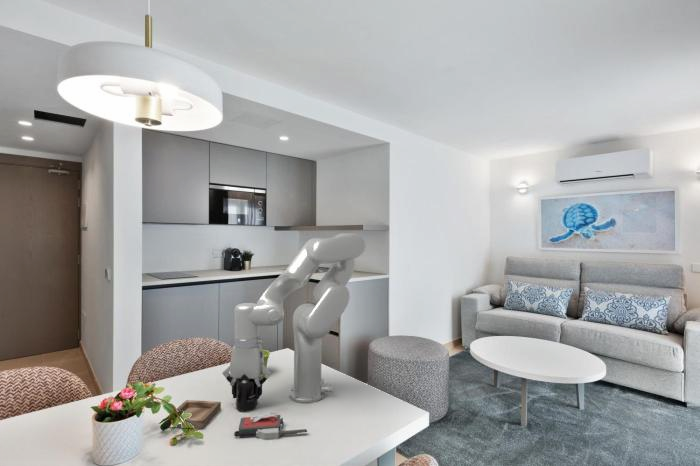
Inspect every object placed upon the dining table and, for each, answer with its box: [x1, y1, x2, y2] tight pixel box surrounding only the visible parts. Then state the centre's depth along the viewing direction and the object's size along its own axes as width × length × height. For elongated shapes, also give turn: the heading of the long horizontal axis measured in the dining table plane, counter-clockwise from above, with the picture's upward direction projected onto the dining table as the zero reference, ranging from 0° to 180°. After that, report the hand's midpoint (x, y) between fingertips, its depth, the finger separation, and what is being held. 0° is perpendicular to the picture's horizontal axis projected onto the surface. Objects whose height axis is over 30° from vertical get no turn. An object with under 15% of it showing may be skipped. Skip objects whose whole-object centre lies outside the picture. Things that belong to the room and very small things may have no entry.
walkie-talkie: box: [233, 412, 308, 440], centre depth 101 cm, size 9×4×20 cm
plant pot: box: [260, 349, 271, 378], centre depth 139 cm, size 9×9×9 cm
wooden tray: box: [164, 399, 222, 431], centre depth 107 cm, size 11×11×2 cm
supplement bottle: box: [235, 374, 259, 412], centre depth 114 cm, size 7×7×12 cm
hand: (247, 396), depth 114 cm, fingers closed on supplement bottle, 6 cm apart
